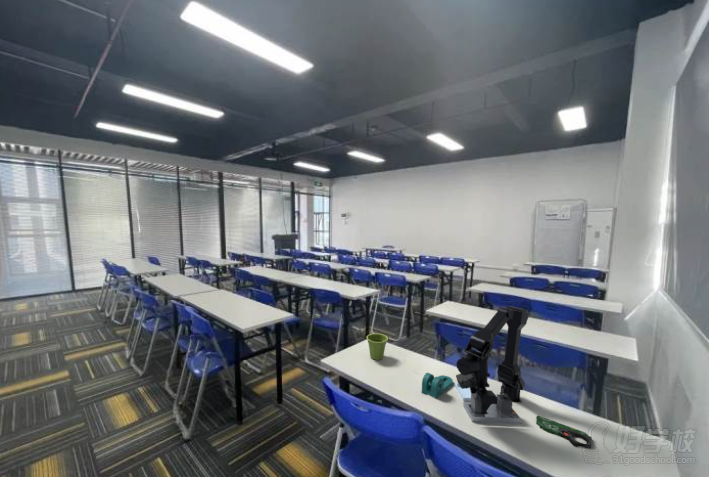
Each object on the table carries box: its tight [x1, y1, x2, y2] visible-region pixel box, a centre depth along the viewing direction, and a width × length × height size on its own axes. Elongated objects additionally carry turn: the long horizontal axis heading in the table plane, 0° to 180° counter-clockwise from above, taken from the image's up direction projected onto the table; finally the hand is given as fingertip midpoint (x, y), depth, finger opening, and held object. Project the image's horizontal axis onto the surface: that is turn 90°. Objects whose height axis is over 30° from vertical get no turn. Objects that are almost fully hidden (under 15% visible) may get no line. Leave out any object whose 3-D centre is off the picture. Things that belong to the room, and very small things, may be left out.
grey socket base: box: [462, 392, 522, 425], centre depth 109 cm, size 18×9×9 cm, turn 89°
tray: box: [453, 382, 471, 402], centre depth 123 cm, size 11×11×2 cm
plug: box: [470, 391, 481, 414], centre depth 109 cm, size 4×4×9 cm
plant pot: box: [366, 333, 389, 361], centre depth 156 cm, size 12×12×11 cm
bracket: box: [421, 372, 454, 399], centre depth 127 cm, size 18×7×8 cm, turn 134°
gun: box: [535, 415, 593, 450], centre depth 101 cm, size 16×2×10 cm
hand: (478, 407), depth 109 cm, fingers open, 8 cm apart
